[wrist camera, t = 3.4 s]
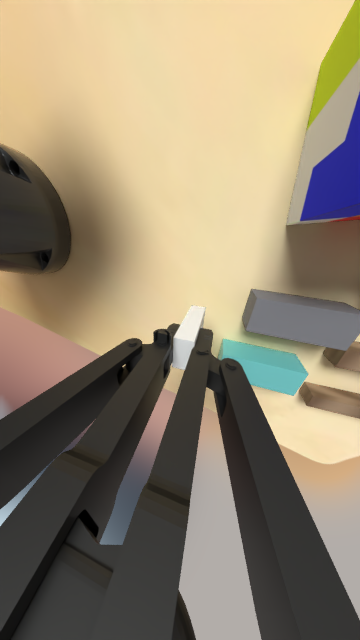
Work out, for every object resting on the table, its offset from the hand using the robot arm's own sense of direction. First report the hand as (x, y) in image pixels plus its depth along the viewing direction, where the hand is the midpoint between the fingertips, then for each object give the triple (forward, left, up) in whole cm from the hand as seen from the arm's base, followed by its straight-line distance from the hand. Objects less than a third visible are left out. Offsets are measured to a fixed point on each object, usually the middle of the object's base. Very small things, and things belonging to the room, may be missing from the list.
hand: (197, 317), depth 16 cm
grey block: (+11, 0, -6) cm, 12 cm away
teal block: (+9, -8, -6) cm, 13 cm away
